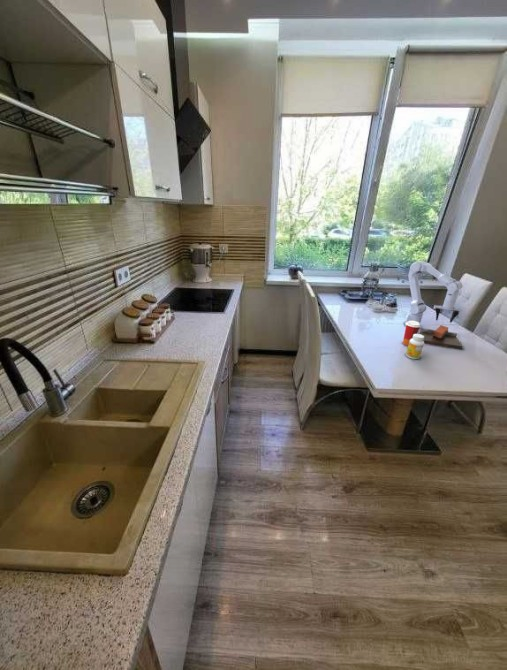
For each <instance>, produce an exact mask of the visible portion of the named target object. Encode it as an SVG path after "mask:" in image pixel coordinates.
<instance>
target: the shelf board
mask: <svg viewBox="0 0 507 670" xmlns="http://www.w3.org/2000/svg"><path fill="white" fill-rule="evenodd" d="M419 330H420V331H419V334H421V335H423V336H424V340H423V341H424V345H431V346H436V347H438V346H439V347H444V348H449V349H455V350H463V347H464V346H463V344H462V343H461V341H460V340H459V338H458V337H457V336H458V333H457V332H451V331H448V333H447V334H446V335H445V336H444V337H443V338H442V339H441V340H439V339H436V338H433V335H434V331H435V330H436V329H430V328H424V327H423V328H422V327H421V328H420V329H419Z"/></svg>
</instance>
